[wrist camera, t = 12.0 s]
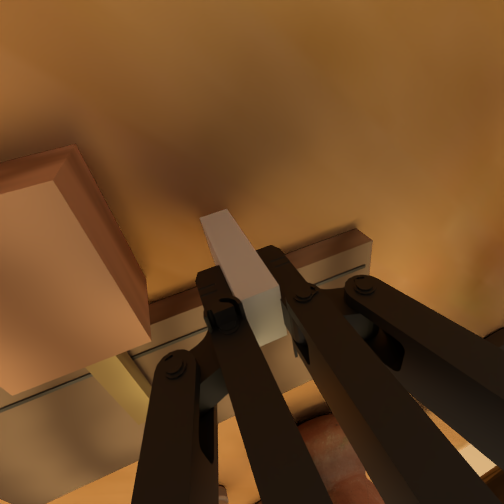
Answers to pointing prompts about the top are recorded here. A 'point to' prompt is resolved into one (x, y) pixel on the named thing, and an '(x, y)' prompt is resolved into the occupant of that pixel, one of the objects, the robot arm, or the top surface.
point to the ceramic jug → (337, 462)
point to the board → (146, 359)
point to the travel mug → (222, 495)
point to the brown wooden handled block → (67, 282)
